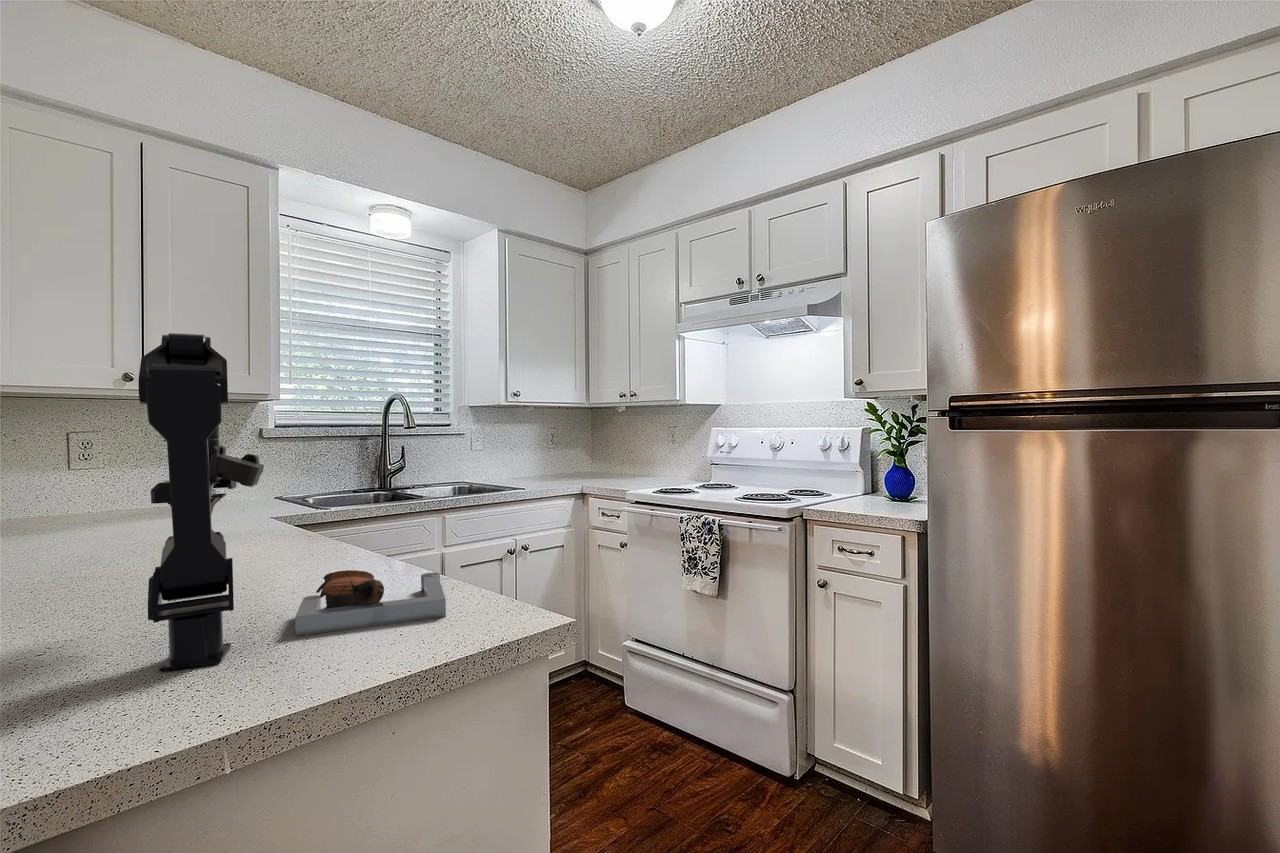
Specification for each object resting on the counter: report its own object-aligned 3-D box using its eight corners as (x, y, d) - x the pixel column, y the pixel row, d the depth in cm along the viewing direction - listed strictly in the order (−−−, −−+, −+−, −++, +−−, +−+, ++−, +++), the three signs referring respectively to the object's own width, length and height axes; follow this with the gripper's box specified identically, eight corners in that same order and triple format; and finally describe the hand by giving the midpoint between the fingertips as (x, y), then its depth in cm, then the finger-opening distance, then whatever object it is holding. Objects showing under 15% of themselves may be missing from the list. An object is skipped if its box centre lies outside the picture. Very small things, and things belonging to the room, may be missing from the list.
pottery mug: (296, 628, 93) (304, 575, 97) (343, 637, 101) (348, 587, 105) (362, 614, 90) (367, 559, 94) (405, 623, 98) (408, 572, 102)
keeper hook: (448, 616, 97) (448, 598, 97) (295, 636, 89) (295, 616, 89) (439, 586, 113) (438, 571, 113) (309, 601, 105) (309, 585, 105)
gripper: (243, 440, 88) (246, 550, 88) (270, 436, 105) (272, 528, 106) (147, 443, 84) (151, 557, 84) (192, 438, 101) (194, 533, 102)
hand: (199, 542), depth 94 cm, fingers closed
